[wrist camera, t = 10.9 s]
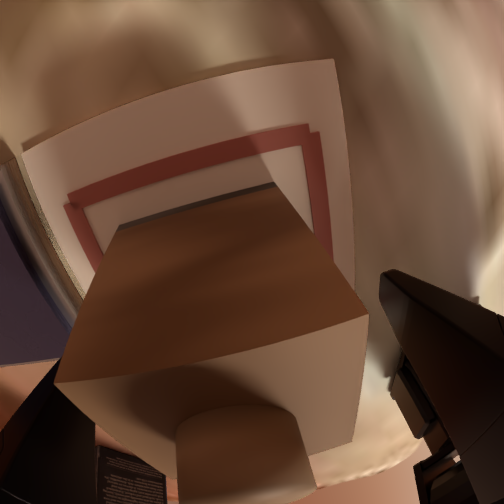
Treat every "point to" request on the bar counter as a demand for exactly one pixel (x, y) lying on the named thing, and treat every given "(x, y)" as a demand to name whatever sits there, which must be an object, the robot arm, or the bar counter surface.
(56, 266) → the ink pad
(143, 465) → the small box
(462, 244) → the bar counter surface
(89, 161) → the print sheet
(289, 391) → the stamp
